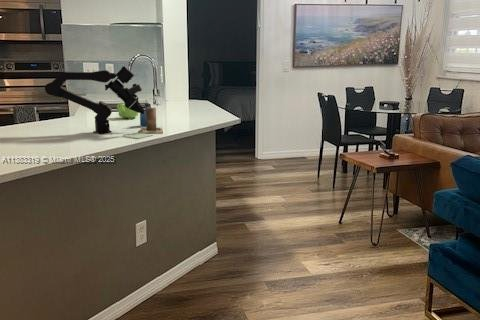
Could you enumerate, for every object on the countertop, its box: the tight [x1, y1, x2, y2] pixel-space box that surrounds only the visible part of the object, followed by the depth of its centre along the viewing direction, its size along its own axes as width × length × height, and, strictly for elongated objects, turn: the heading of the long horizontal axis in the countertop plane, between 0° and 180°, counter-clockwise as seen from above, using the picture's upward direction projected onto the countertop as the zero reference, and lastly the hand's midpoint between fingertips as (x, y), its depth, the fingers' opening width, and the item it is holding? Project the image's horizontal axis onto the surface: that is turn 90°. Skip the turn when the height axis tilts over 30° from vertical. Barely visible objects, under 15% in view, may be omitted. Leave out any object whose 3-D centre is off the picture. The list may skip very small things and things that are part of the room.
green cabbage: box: [116, 103, 139, 120], centre depth 273 cm, size 12×12×10 cm
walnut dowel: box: [145, 107, 157, 131], centre depth 230 cm, size 5×5×12 cm
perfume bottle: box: [139, 102, 152, 128], centre depth 248 cm, size 6×6×12 cm
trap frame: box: [139, 126, 164, 135], centre depth 231 cm, size 11×11×1 cm
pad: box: [122, 132, 153, 140], centre depth 219 cm, size 10×10×1 cm
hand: (143, 112), depth 228 cm, fingers open, 9 cm apart
